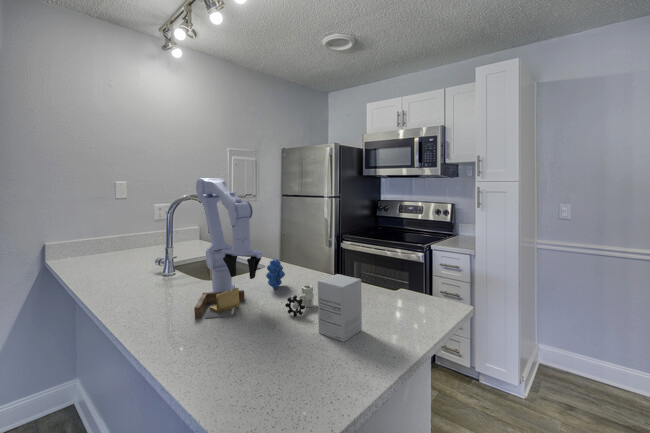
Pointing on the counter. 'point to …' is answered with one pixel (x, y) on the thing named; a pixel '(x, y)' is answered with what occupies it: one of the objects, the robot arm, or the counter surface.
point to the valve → (301, 300)
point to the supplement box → (339, 307)
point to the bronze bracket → (226, 301)
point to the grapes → (275, 273)
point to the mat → (218, 315)
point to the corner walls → (210, 301)
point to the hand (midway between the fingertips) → (242, 277)
